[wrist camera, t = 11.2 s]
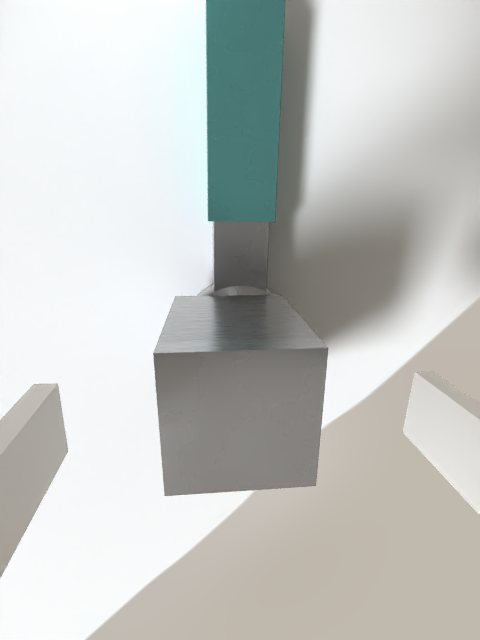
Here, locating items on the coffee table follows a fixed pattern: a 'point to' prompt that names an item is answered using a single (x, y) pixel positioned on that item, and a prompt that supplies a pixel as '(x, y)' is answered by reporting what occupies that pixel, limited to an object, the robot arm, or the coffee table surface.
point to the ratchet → (242, 138)
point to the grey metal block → (238, 395)
